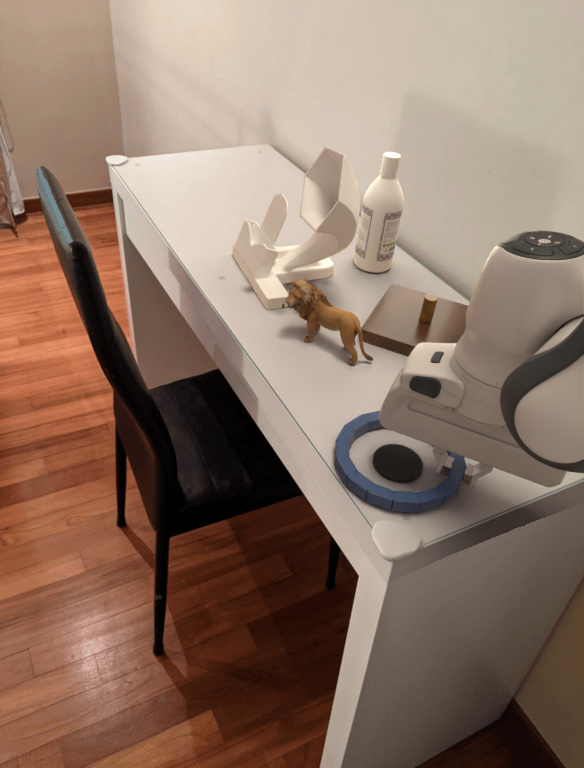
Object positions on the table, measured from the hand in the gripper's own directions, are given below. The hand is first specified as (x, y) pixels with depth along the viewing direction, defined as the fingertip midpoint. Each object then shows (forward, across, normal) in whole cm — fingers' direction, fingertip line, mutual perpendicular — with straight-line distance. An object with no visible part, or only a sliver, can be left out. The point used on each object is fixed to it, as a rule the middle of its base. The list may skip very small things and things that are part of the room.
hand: (455, 476), depth 71 cm
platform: (+2, +12, -30) cm, 32 cm away
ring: (+1, +7, 0) cm, 7 cm away
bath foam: (+2, +26, -46) cm, 53 cm away
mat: (+2, +7, 0) cm, 7 cm away
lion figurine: (+2, +24, -18) cm, 30 cm away
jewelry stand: (+2, +34, -32) cm, 47 cm away
